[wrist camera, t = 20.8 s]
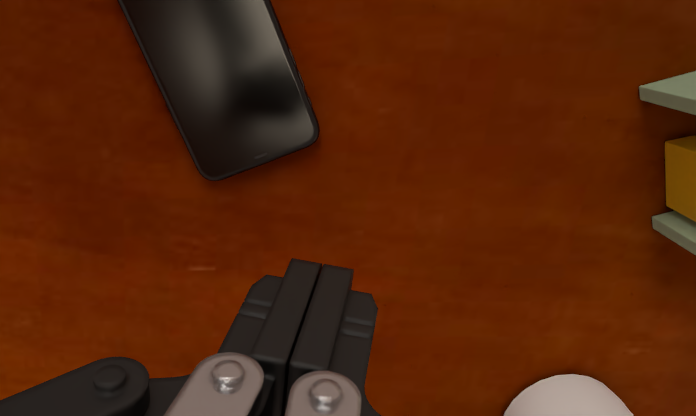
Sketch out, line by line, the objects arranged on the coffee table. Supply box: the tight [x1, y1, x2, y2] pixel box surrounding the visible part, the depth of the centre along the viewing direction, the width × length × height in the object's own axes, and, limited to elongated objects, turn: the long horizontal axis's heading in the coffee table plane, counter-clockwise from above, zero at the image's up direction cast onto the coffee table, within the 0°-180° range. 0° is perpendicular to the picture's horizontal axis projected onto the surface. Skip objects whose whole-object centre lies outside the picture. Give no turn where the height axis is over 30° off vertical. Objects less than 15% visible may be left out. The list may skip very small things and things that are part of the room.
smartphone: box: [118, 0, 320, 181], centre depth 34 cm, size 8×1×16 cm
